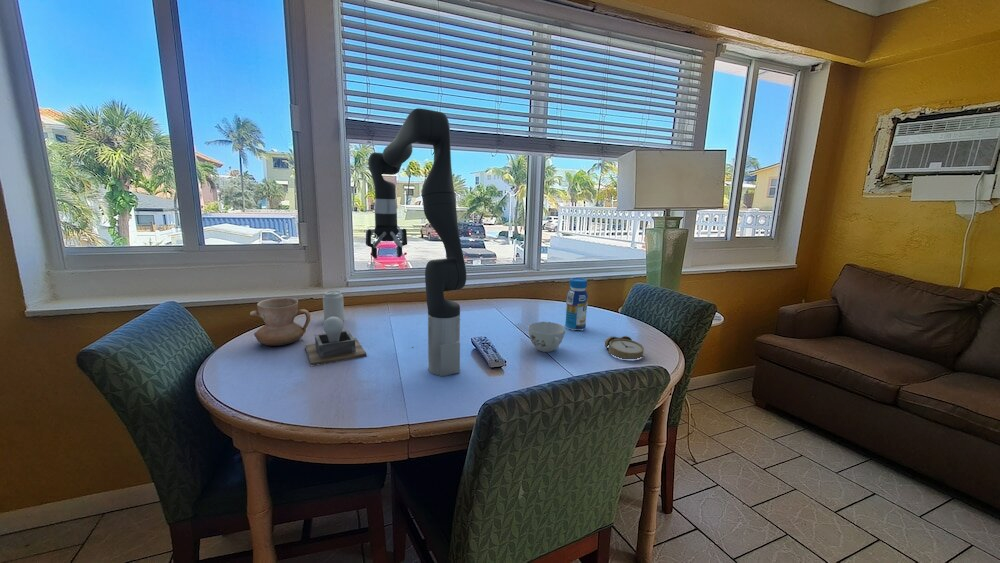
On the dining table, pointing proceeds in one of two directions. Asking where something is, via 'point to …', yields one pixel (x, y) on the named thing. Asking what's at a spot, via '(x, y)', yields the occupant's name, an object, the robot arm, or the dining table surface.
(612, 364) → the dining table surface
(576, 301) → the beverage bottle
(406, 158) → the robot arm
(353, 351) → the socket
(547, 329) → the teacup
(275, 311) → the ceramic jug
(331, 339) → the lightbulb
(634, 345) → the alarm clock
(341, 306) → the can
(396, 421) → the dining table surface
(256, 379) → the dining table surface
